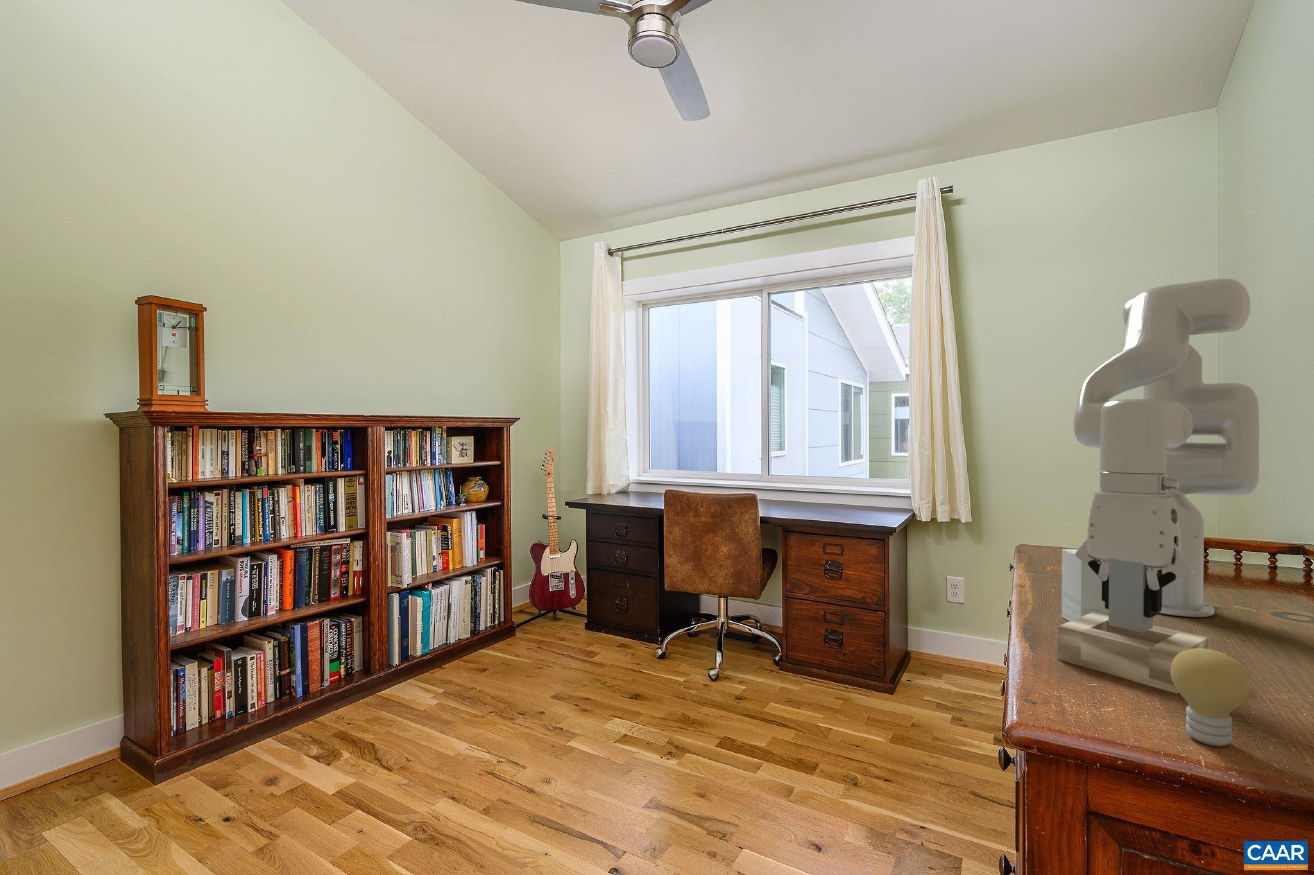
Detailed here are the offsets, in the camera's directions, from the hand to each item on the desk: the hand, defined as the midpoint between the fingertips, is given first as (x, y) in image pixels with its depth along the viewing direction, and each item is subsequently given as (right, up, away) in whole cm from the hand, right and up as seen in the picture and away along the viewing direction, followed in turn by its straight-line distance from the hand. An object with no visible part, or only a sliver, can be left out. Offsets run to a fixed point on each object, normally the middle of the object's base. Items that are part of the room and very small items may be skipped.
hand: (1130, 610), depth 87 cm
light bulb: (-8, -9, -21) cm, 24 cm away
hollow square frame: (0, -8, 0) cm, 8 cm away
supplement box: (+8, -8, +19) cm, 22 cm away
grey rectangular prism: (0, -2, 0) cm, 2 cm away
